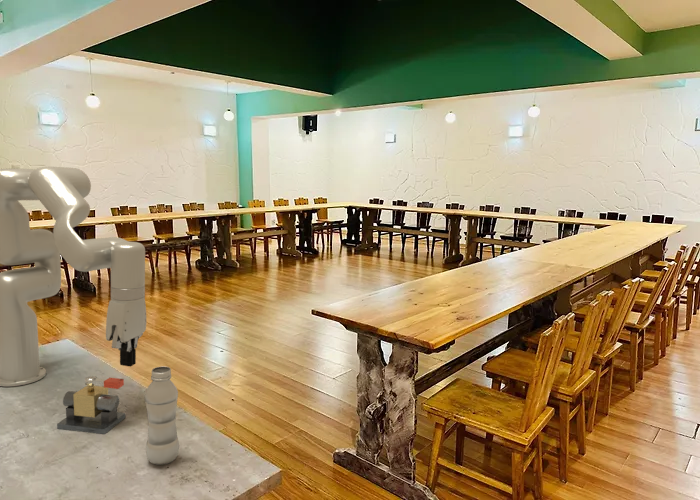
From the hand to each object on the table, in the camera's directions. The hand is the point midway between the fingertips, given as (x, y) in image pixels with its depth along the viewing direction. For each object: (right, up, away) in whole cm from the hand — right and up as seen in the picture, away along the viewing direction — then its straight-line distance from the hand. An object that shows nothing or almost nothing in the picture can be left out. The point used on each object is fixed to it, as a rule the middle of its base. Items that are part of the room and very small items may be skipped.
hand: (127, 364), depth 120 cm
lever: (-3, -3, -6) cm, 8 cm away
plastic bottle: (+16, -16, -18) cm, 29 cm away
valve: (-7, -13, -4) cm, 15 cm away
